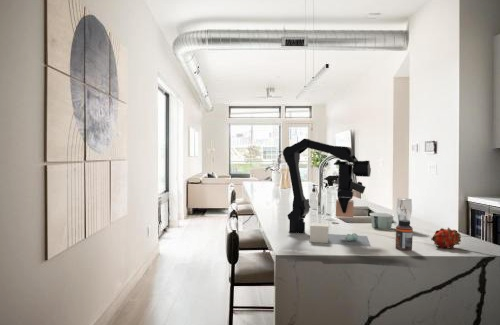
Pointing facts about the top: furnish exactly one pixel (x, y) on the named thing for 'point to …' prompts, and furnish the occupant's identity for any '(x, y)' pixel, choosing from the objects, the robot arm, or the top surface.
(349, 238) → the marble
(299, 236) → the top surface
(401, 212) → the beer glass
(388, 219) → the food container
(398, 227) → the supplement bottle
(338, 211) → the salmon pink cube
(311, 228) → the ivory rectangular chunk
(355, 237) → the marble
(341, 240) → the mat
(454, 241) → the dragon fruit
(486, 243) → the top surface
